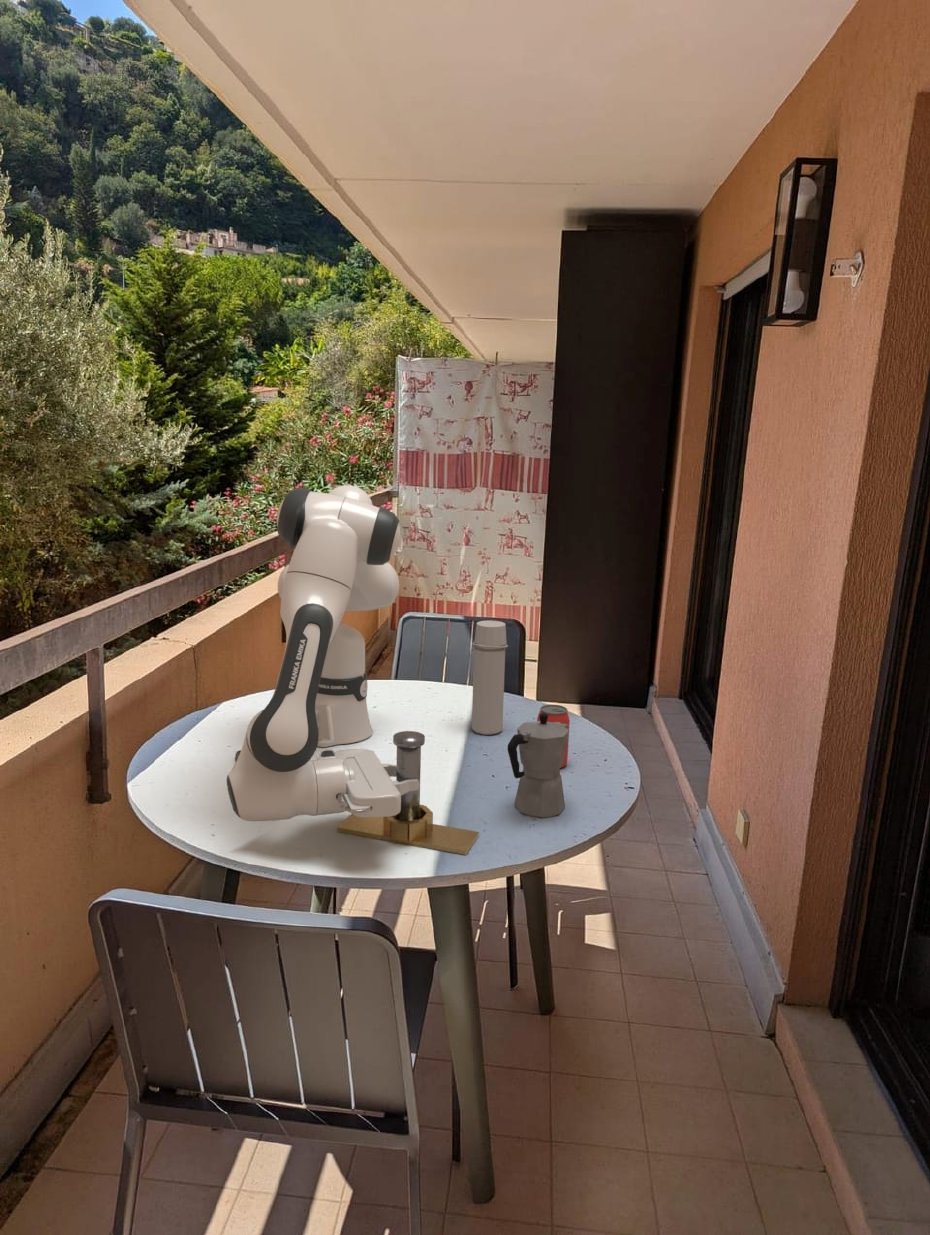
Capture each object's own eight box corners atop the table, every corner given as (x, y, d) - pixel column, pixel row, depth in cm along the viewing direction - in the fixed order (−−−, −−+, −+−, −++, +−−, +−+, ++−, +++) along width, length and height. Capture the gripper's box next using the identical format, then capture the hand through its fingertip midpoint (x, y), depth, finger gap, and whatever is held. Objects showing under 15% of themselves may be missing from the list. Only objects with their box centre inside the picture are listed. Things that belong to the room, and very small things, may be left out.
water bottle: (498, 738, 193) (502, 629, 187) (465, 733, 195) (468, 625, 190) (510, 725, 201) (514, 620, 196) (478, 720, 204) (482, 617, 198)
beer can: (565, 771, 175) (568, 715, 173) (533, 768, 176) (535, 712, 174) (568, 759, 182) (571, 705, 179) (537, 756, 183) (539, 702, 180)
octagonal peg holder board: (336, 832, 147) (336, 811, 146) (355, 813, 154) (355, 793, 153) (465, 856, 140) (465, 834, 139) (479, 835, 147) (480, 814, 146)
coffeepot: (544, 789, 166) (548, 699, 163) (582, 805, 160) (587, 712, 156) (487, 812, 156) (490, 717, 152) (525, 830, 149) (530, 731, 146)
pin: (387, 829, 145) (388, 739, 142) (399, 816, 150) (400, 729, 146) (416, 835, 144) (418, 744, 140) (427, 821, 148) (429, 733, 145)
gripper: (343, 793, 130) (431, 783, 135) (320, 745, 149) (398, 738, 154) (344, 832, 132) (431, 821, 136) (320, 779, 151) (398, 771, 155)
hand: (413, 776), depth 145 cm, fingers closed on pin, 4 cm apart
